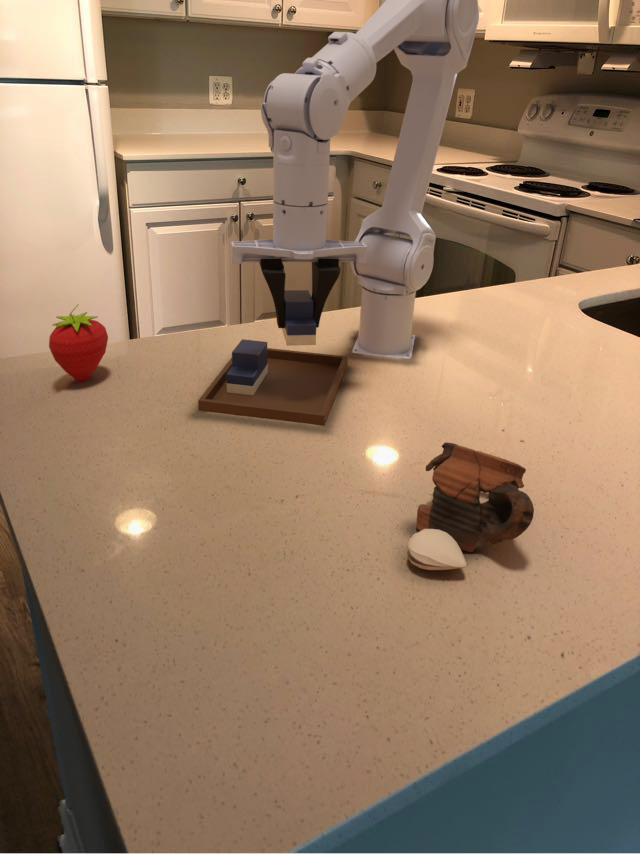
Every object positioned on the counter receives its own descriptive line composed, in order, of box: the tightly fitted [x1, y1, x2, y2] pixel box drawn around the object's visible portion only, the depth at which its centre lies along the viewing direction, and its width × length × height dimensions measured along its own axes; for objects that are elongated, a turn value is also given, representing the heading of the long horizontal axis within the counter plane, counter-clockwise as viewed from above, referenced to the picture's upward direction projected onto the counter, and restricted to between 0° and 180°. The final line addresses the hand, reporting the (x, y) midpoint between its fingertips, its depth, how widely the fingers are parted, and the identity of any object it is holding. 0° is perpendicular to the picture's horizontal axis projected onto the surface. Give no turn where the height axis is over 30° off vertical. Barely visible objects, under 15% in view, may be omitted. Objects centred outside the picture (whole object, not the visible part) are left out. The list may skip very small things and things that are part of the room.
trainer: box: [281, 289, 317, 347], centre depth 80 cm, size 7×3×4 cm, turn 9°
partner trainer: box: [227, 338, 268, 396], centre depth 85 cm, size 7×3×4 cm, turn 170°
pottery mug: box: [415, 441, 535, 553], centre depth 61 cm, size 12×10×8 cm
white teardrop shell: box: [406, 529, 467, 571], centre depth 57 cm, size 4×5×2 cm
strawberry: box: [48, 303, 109, 382], centre depth 83 cm, size 6×8×10 cm
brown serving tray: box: [197, 347, 349, 426], centre depth 85 cm, size 17×14×2 cm
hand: (297, 325), depth 81 cm, fingers closed on trainer, 3 cm apart
